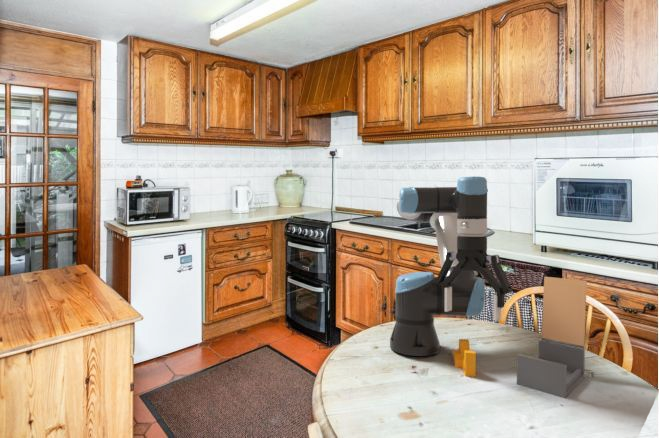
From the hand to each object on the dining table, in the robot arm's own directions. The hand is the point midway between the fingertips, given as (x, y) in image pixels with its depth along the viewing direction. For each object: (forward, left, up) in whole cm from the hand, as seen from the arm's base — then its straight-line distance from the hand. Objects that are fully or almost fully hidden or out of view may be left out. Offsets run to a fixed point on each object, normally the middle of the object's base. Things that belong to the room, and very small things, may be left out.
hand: (471, 315), depth 108 cm
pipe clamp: (-4, +4, -17) cm, 18 cm away
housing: (+16, +12, -16) cm, 26 cm away
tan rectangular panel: (+16, +21, -8) cm, 28 cm away
